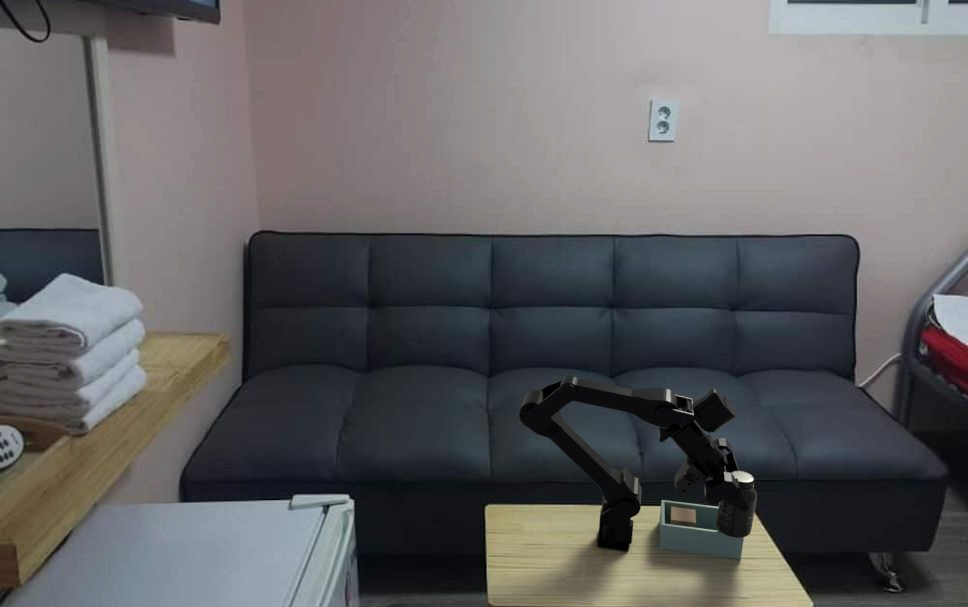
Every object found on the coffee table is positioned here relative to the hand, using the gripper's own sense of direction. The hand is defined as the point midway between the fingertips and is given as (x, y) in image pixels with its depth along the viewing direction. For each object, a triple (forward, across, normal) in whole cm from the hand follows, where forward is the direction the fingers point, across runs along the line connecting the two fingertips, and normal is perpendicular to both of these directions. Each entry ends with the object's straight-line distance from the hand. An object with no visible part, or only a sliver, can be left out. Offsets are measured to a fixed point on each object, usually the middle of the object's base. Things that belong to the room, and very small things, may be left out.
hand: (745, 500), depth 162 cm
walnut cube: (+1, -4, -17) cm, 17 cm away
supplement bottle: (+4, 0, -6) cm, 7 cm away
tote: (+4, -4, -14) cm, 16 cm away
